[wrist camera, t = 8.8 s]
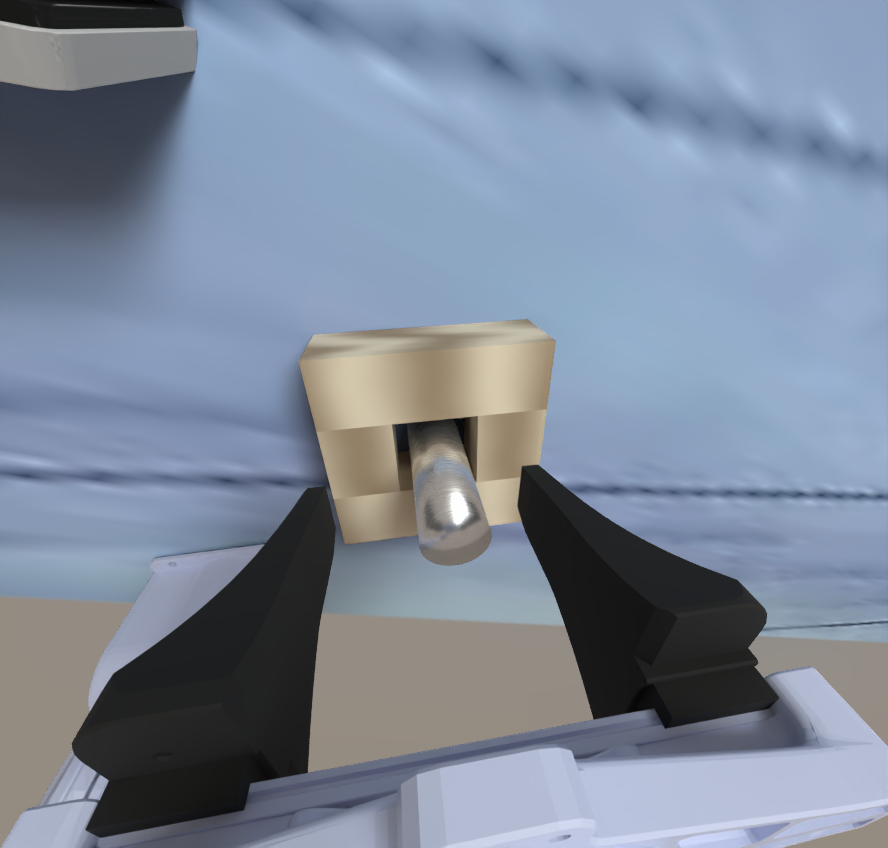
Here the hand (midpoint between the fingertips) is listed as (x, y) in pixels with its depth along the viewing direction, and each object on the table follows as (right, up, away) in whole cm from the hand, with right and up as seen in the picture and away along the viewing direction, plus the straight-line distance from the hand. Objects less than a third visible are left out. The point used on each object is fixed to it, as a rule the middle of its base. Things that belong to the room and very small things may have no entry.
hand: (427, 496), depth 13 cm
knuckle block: (0, +3, +10) cm, 10 cm away
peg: (0, +3, +10) cm, 10 cm away
